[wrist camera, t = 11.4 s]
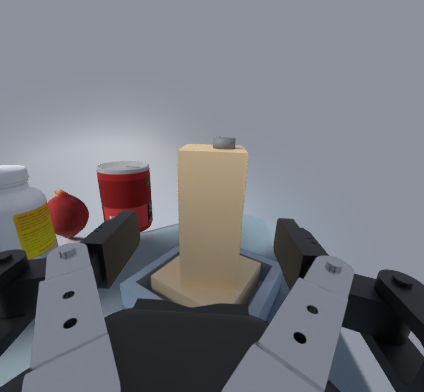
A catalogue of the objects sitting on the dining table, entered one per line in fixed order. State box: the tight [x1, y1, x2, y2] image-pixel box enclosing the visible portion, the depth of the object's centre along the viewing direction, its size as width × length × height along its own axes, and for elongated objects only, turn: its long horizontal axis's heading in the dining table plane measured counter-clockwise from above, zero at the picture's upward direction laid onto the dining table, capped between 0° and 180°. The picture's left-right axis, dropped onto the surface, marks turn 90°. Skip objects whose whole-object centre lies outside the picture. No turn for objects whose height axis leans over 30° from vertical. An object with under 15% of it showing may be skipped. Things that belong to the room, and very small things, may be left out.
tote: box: [120, 245, 283, 321], centre depth 22 cm, size 12×12×4 cm
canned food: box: [97, 161, 153, 232], centre depth 36 cm, size 8×8×11 cm
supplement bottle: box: [0, 165, 58, 260], centre depth 23 cm, size 7×7×13 cm
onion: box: [47, 190, 89, 238], centre depth 32 cm, size 6×6×8 cm
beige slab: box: [151, 255, 261, 307], centre depth 21 cm, size 8×8×3 cm
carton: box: [177, 137, 248, 290], centre depth 19 cm, size 5×5×13 cm
